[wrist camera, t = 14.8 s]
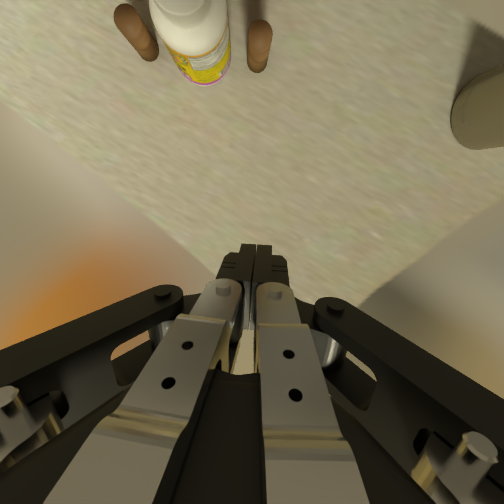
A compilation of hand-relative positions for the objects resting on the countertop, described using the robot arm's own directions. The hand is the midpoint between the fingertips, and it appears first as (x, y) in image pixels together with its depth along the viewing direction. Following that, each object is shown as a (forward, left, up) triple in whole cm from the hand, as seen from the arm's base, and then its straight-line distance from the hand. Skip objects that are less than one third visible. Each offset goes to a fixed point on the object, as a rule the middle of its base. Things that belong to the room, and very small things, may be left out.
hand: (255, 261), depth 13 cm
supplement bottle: (+6, -18, -24) cm, 31 cm away
